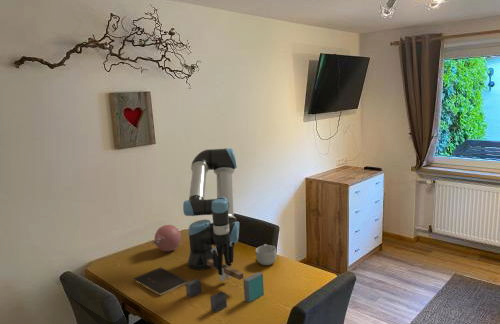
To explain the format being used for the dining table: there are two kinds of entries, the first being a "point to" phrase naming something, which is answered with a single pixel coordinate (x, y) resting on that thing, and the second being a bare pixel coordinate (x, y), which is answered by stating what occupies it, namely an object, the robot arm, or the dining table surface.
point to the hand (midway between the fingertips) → (224, 279)
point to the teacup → (266, 254)
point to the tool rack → (216, 300)
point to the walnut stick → (227, 270)
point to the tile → (253, 287)
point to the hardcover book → (161, 281)
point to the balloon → (167, 238)
